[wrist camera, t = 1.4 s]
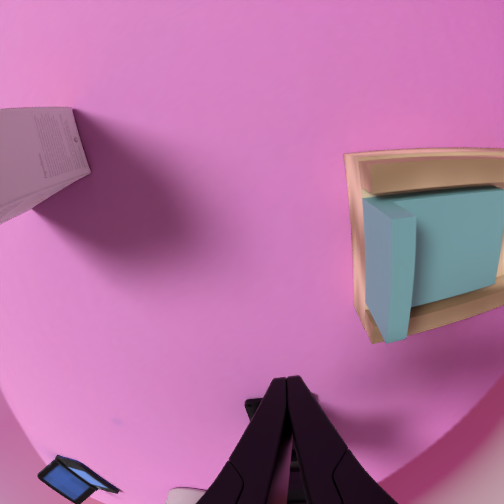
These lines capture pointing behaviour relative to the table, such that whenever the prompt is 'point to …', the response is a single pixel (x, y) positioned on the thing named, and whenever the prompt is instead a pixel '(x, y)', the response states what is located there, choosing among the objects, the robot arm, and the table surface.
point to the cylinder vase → (184, 495)
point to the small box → (37, 156)
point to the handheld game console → (73, 479)
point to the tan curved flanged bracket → (414, 180)
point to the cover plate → (428, 249)
